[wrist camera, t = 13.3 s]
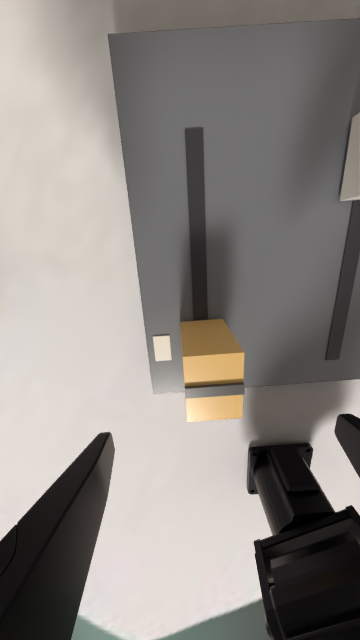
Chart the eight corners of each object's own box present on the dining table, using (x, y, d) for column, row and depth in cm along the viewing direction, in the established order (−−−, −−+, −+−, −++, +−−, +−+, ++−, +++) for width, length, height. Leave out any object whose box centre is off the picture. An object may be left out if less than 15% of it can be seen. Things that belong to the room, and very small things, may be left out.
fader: (222, 368, 17) (243, 420, 12) (183, 371, 17) (187, 424, 12) (222, 318, 16) (245, 354, 11) (179, 321, 16) (182, 359, 11)
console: (353, 361, 20) (378, 378, 18) (155, 376, 20) (153, 395, 18) (421, 51, 13) (477, 9, 11) (119, 71, 13) (107, 32, 11)
